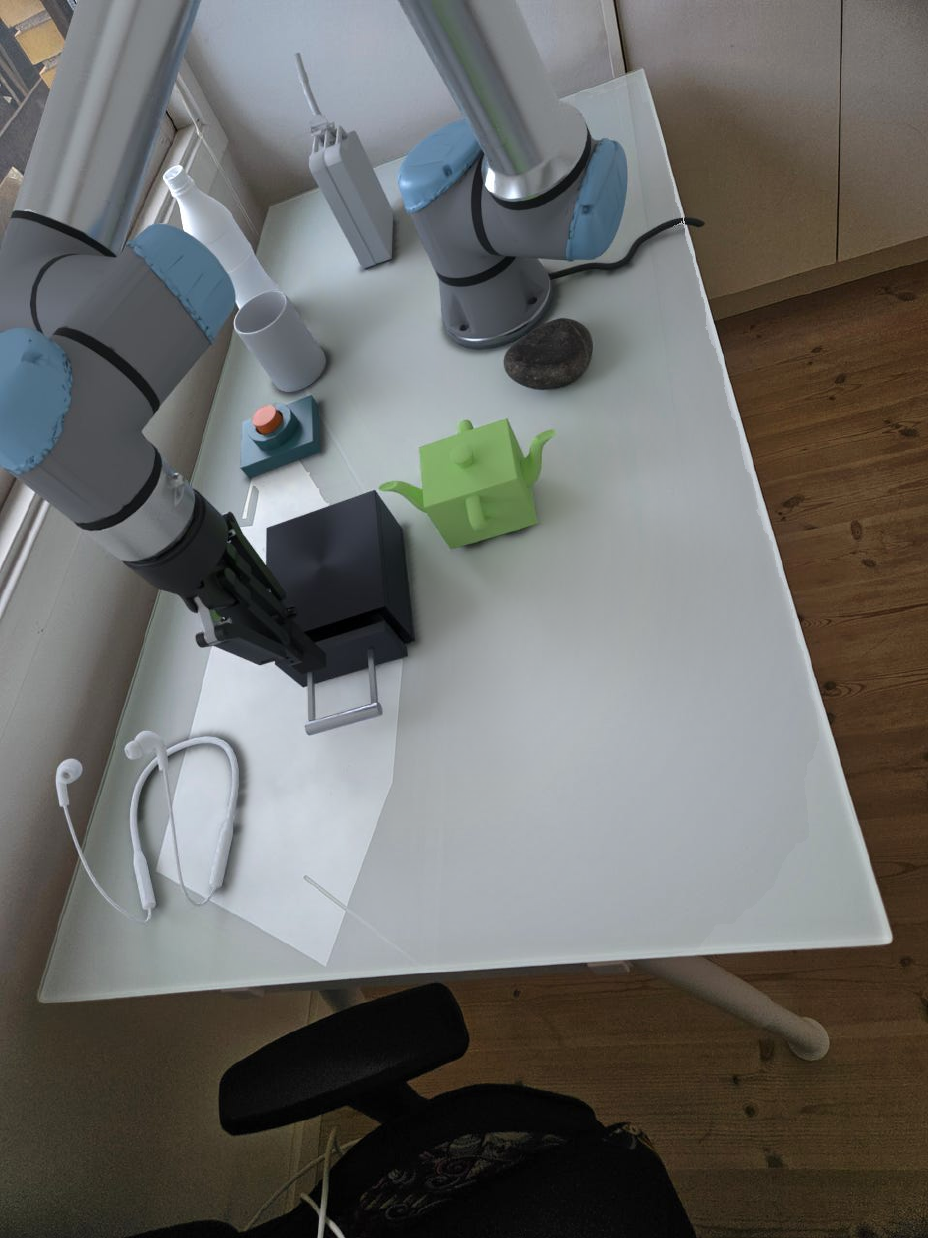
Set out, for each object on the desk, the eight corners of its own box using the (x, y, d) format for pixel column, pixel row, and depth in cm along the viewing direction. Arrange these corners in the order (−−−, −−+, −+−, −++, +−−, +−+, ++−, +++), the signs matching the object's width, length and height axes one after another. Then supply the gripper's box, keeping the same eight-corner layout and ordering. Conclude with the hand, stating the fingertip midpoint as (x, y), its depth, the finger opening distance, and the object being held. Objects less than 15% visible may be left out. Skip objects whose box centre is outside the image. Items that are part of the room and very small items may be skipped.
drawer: (414, 721, 82) (390, 698, 77) (304, 752, 85) (274, 731, 80) (397, 548, 94) (375, 519, 89) (301, 580, 97) (275, 553, 92)
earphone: (100, 948, 78) (23, 778, 77) (183, 869, 94) (120, 728, 93) (222, 909, 76) (146, 733, 74) (285, 835, 92) (224, 689, 90)
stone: (515, 344, 105) (504, 314, 101) (597, 327, 102) (588, 295, 98) (510, 410, 100) (498, 381, 96) (596, 393, 96) (587, 363, 92)
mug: (323, 384, 115) (283, 325, 106) (271, 398, 118) (227, 341, 109) (332, 326, 121) (295, 265, 112) (282, 341, 124) (242, 282, 115)
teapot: (578, 485, 91) (554, 421, 82) (514, 580, 87) (483, 524, 79) (472, 451, 99) (441, 389, 90) (411, 537, 96) (372, 481, 87)
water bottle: (299, 301, 128) (204, 151, 107) (282, 334, 125) (180, 186, 105) (264, 304, 131) (164, 158, 111) (246, 337, 128) (140, 193, 108)
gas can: (365, 212, 134) (287, 54, 113) (393, 202, 132) (318, 39, 112) (362, 271, 126) (277, 112, 106) (391, 260, 124) (311, 97, 104)
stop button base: (319, 405, 113) (305, 385, 110) (321, 451, 108) (306, 431, 105) (250, 431, 116) (234, 412, 113) (249, 478, 111) (232, 459, 108)
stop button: (282, 410, 110) (275, 401, 108) (282, 429, 108) (275, 420, 106) (259, 419, 111) (252, 410, 109) (258, 438, 109) (251, 429, 107)
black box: (415, 641, 88) (385, 605, 82) (302, 675, 91) (264, 644, 85) (403, 529, 97) (375, 489, 90) (300, 563, 100) (266, 527, 93)
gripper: (195, 578, 55) (352, 714, 74) (205, 442, 62) (346, 598, 81) (102, 610, 57) (279, 735, 76) (123, 473, 64) (279, 619, 83)
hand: (313, 664), depth 78 cm, fingers closed
